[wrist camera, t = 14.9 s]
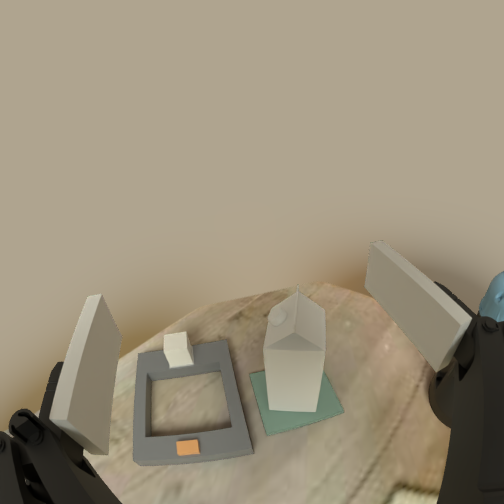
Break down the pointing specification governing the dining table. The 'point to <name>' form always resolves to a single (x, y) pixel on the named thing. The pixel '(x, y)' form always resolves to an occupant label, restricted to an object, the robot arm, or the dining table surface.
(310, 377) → the milk carton
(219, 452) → the grey open frame
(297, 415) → the felt pad
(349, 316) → the dining table surface
